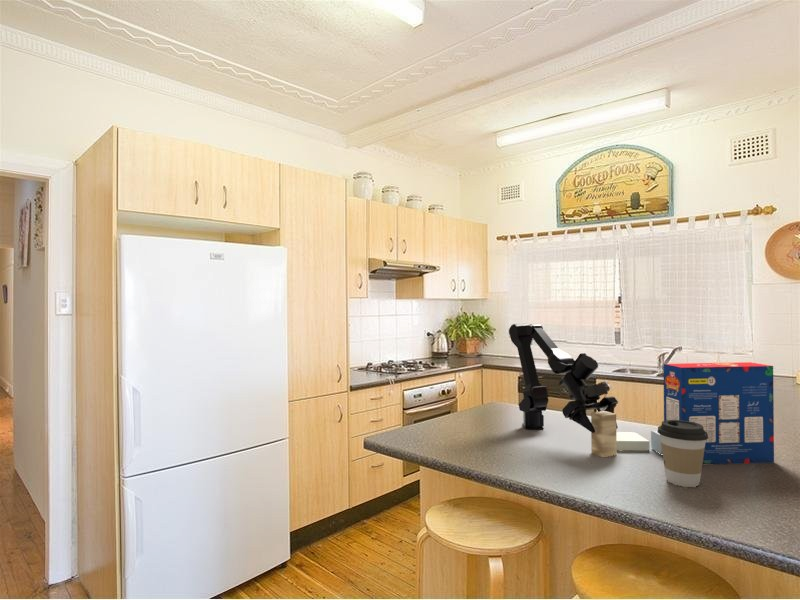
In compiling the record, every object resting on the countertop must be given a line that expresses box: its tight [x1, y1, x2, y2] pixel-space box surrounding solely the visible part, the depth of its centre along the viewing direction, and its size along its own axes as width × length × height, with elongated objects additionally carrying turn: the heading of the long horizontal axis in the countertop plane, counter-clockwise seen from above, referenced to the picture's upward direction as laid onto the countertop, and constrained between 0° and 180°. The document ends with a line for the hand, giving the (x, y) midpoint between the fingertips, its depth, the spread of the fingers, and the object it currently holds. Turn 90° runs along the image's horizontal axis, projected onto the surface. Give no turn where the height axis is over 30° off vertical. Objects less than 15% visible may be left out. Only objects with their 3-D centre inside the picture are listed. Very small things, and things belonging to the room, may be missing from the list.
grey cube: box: [650, 430, 663, 455], centre depth 144 cm, size 6×6×6 cm
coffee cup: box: [656, 420, 708, 488], centre depth 120 cm, size 11×11×15 cm
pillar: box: [590, 411, 618, 458], centre depth 143 cm, size 4×6×12 cm
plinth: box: [616, 431, 651, 450], centre depth 151 cm, size 10×10×4 cm
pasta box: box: [663, 361, 775, 465], centre depth 138 cm, size 28×8×28 cm, turn 95°
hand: (605, 430), depth 142 cm, fingers open, 9 cm apart
